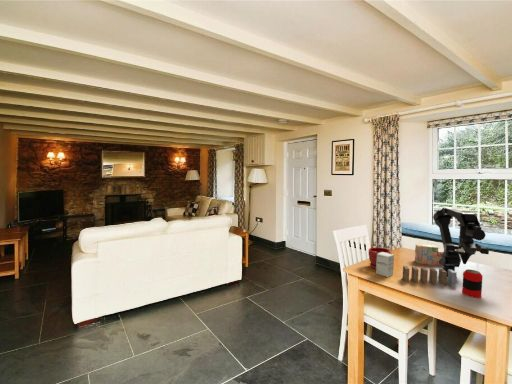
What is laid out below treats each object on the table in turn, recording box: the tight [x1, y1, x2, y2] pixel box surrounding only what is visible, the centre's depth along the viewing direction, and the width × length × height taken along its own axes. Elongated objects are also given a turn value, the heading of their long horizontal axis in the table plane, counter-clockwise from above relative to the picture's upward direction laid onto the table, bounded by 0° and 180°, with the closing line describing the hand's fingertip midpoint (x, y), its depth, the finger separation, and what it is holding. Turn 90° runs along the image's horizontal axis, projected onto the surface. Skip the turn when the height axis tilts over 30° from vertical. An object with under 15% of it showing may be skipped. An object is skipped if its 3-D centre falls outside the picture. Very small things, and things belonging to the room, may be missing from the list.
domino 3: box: [419, 266, 429, 284], centre depth 150 cm, size 5×2×8 cm, turn 165°
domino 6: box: [446, 269, 458, 287], centre depth 147 cm, size 5×2×8 cm, turn 167°
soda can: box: [461, 269, 483, 299], centre depth 134 cm, size 8×8×12 cm
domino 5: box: [437, 268, 448, 286], centre depth 148 cm, size 5×2×8 cm, turn 165°
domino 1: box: [402, 265, 410, 283], centre depth 153 cm, size 5×2×8 cm, turn 165°
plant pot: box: [368, 247, 392, 270], centre depth 173 cm, size 13×13×12 cm
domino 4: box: [428, 267, 438, 285], centre depth 149 cm, size 5×2×8 cm, turn 166°
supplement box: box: [375, 252, 395, 278], centre depth 161 cm, size 7×7×13 cm
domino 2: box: [410, 266, 420, 283], centre depth 152 cm, size 5×2×8 cm, turn 165°
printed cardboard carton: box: [414, 243, 444, 267], centre depth 181 cm, size 21×6×12 cm, turn 69°
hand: (464, 264), depth 145 cm, fingers closed
